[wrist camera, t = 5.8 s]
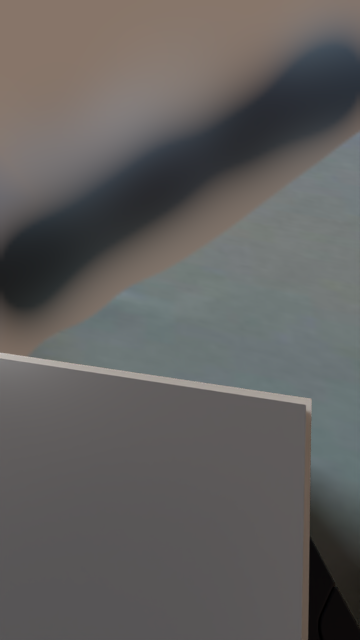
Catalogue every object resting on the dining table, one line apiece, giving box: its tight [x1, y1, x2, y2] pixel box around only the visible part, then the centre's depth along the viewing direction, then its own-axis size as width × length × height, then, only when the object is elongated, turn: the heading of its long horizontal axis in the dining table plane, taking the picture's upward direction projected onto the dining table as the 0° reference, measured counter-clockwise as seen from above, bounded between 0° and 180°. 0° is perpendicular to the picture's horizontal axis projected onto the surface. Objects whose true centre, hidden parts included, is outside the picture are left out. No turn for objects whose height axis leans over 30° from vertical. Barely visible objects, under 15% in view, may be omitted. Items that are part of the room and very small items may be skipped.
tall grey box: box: [0, 353, 311, 640], centre depth 9 cm, size 5×5×13 cm
